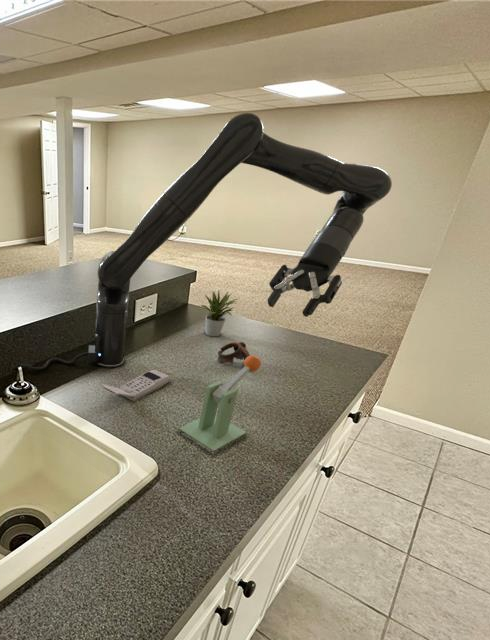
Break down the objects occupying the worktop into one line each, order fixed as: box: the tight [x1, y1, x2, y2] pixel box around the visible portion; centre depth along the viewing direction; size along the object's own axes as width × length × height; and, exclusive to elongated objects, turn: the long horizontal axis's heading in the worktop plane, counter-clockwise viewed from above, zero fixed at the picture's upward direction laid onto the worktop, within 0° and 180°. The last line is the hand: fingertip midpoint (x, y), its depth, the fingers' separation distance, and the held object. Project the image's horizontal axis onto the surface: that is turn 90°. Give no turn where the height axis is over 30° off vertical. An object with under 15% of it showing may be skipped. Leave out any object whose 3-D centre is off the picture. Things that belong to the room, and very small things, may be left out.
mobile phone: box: [101, 369, 173, 402], centre depth 109 cm, size 6×6×25 cm
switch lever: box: [212, 355, 262, 404], centre depth 90 cm, size 14×4×4 cm, turn 125°
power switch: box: [178, 380, 248, 452], centre depth 91 cm, size 12×10×13 cm
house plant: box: [200, 289, 238, 337], centre depth 144 cm, size 14×14×16 cm
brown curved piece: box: [217, 341, 251, 365], centre depth 127 cm, size 12×9×8 cm
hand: (286, 310), depth 94 cm, fingers open, 8 cm apart
